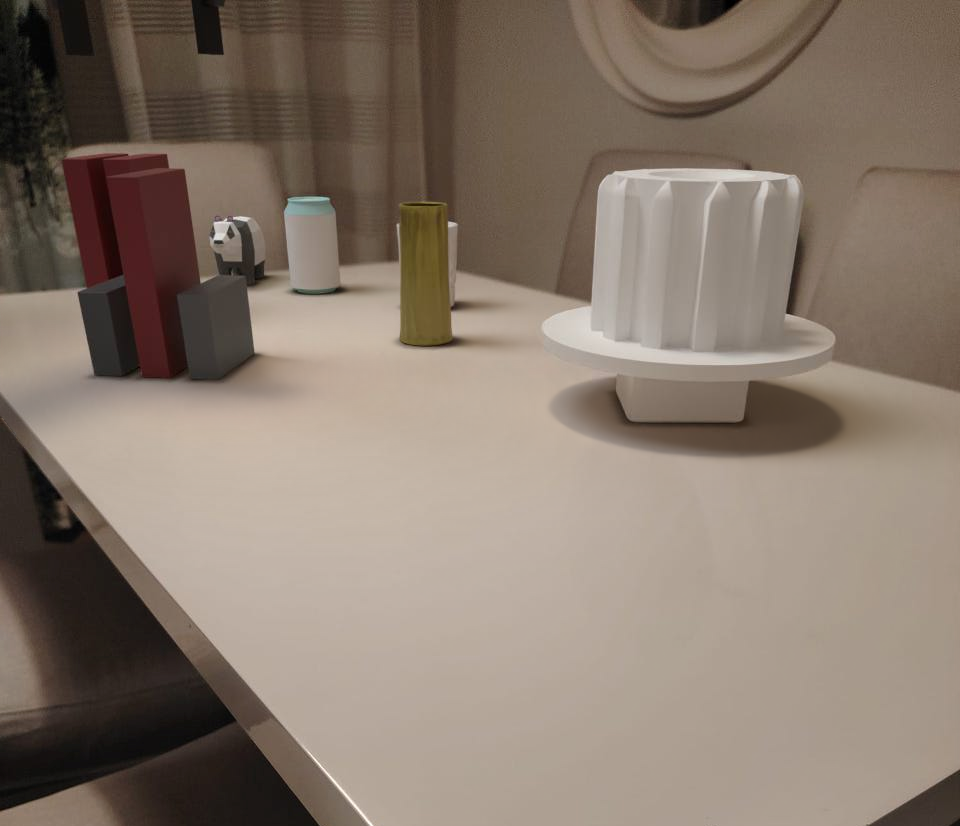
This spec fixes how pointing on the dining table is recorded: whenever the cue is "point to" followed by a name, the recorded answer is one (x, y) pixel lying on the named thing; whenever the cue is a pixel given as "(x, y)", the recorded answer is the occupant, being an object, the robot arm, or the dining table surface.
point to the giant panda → (238, 247)
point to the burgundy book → (155, 261)
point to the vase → (424, 274)
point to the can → (312, 245)
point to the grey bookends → (204, 317)
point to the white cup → (451, 256)
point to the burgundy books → (100, 208)
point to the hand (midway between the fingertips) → (144, 55)
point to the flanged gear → (692, 292)
